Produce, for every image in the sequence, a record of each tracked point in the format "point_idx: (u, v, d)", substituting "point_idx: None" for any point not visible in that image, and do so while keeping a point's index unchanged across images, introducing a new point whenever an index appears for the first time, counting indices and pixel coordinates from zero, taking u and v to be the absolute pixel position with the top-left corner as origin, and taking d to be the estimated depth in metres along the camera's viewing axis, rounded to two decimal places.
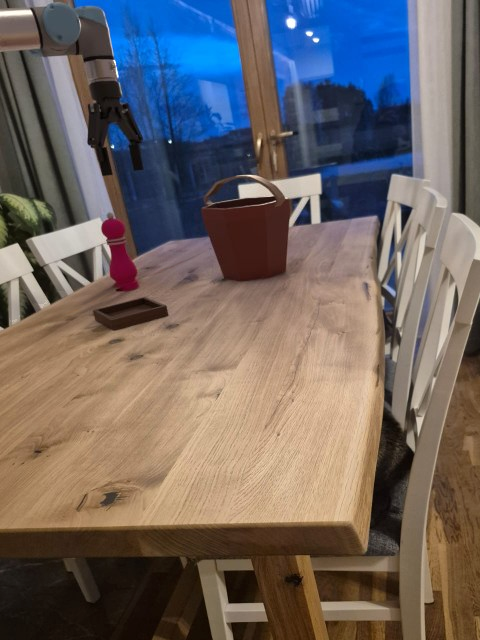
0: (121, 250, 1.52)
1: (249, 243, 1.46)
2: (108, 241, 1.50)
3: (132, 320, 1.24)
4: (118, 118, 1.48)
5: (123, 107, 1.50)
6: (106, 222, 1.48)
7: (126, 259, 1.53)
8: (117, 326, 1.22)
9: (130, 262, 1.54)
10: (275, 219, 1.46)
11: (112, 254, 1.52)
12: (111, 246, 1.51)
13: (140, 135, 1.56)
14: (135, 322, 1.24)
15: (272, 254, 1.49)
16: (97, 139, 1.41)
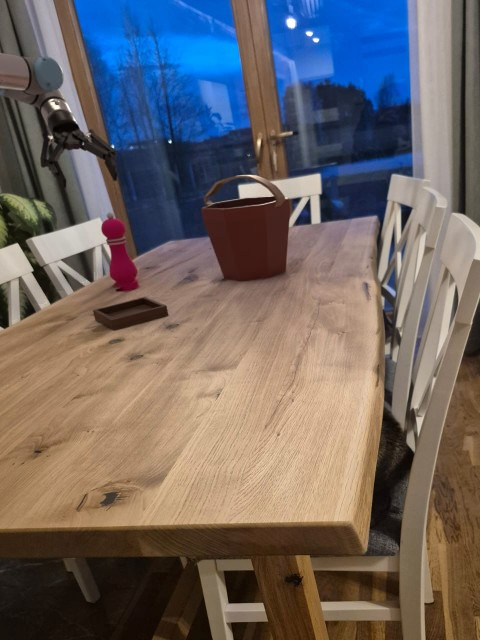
0: (121, 250, 1.52)
1: (249, 243, 1.46)
2: (108, 241, 1.50)
3: (132, 320, 1.24)
4: (77, 140, 1.56)
5: (88, 134, 1.59)
6: (106, 222, 1.48)
7: (126, 259, 1.53)
8: (117, 326, 1.22)
9: (130, 262, 1.54)
10: (275, 219, 1.46)
11: (112, 254, 1.52)
12: (111, 246, 1.51)
13: (112, 149, 1.59)
14: (135, 322, 1.24)
15: (272, 254, 1.49)
16: (44, 157, 1.50)
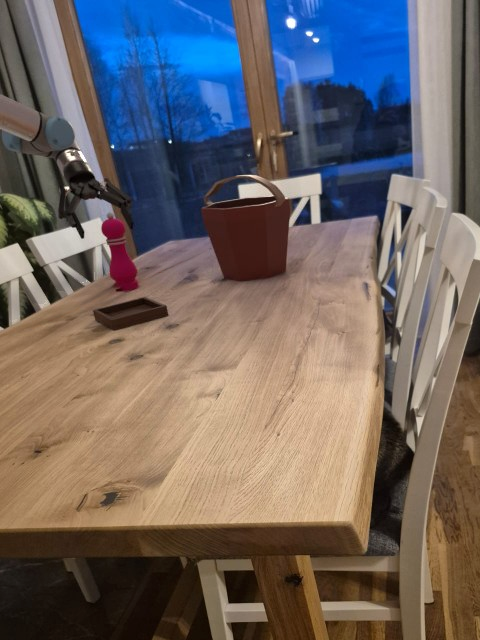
0: (121, 250, 1.52)
1: (249, 243, 1.46)
2: (108, 241, 1.50)
3: (132, 320, 1.24)
4: (93, 190, 1.58)
5: (103, 183, 1.61)
6: (106, 222, 1.48)
7: (126, 259, 1.53)
8: (117, 326, 1.22)
9: (130, 262, 1.54)
10: (275, 219, 1.46)
11: (112, 254, 1.52)
12: (111, 246, 1.51)
13: (127, 197, 1.61)
14: (135, 322, 1.24)
15: (272, 254, 1.49)
16: (61, 209, 1.51)
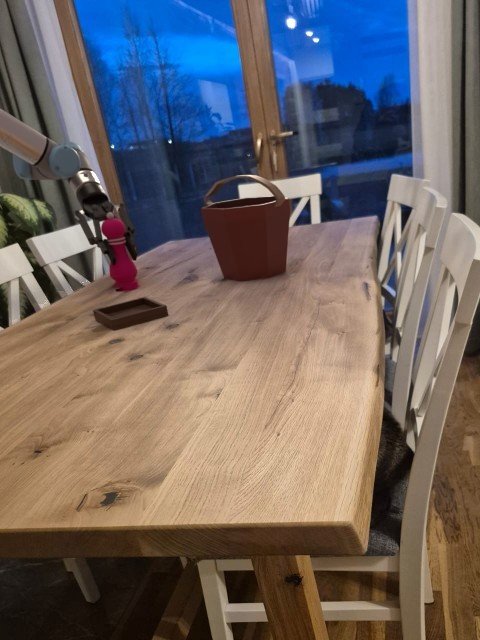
0: (120, 250, 1.52)
1: (249, 243, 1.46)
2: (108, 241, 1.50)
3: (132, 320, 1.24)
4: (106, 212, 1.54)
5: (117, 207, 1.57)
6: (106, 222, 1.48)
7: (126, 259, 1.53)
8: (117, 326, 1.22)
9: (130, 262, 1.54)
10: (275, 219, 1.46)
11: None
12: (111, 246, 1.51)
13: (132, 227, 1.55)
14: (135, 322, 1.24)
15: (272, 254, 1.49)
16: (92, 235, 1.50)
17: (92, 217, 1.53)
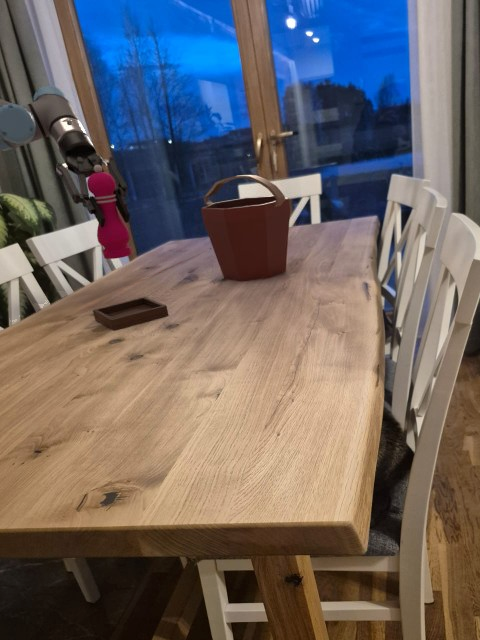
0: (110, 210, 1.30)
1: (249, 243, 1.46)
2: (95, 199, 1.28)
3: (132, 320, 1.24)
4: None
5: (106, 161, 1.35)
6: (93, 176, 1.27)
7: (116, 221, 1.31)
8: (117, 326, 1.22)
9: (121, 224, 1.32)
10: (275, 219, 1.46)
11: None
12: (99, 205, 1.29)
13: (123, 184, 1.33)
14: (135, 322, 1.24)
15: (272, 254, 1.49)
16: (76, 191, 1.28)
17: (77, 172, 1.32)
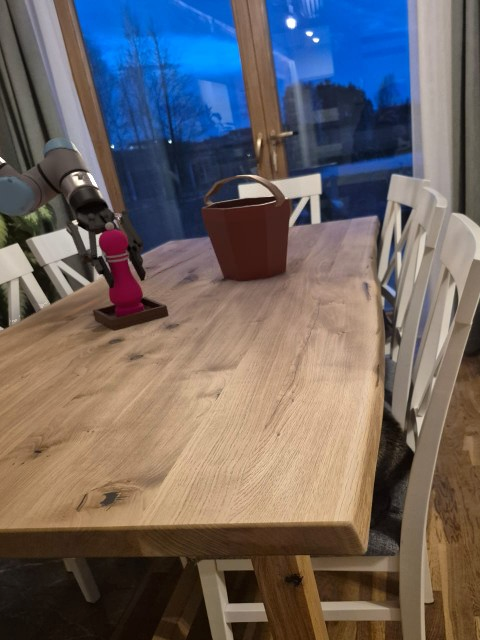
0: (122, 268, 1.24)
1: (249, 243, 1.46)
2: (107, 257, 1.22)
3: (132, 320, 1.24)
4: (105, 223, 1.27)
5: (119, 216, 1.30)
6: (105, 234, 1.20)
7: (129, 279, 1.25)
8: (117, 326, 1.22)
9: (134, 283, 1.26)
10: (275, 219, 1.46)
11: (112, 273, 1.24)
12: (111, 263, 1.23)
13: (138, 240, 1.28)
14: (135, 322, 1.24)
15: (272, 254, 1.49)
16: (84, 251, 1.22)
17: (87, 229, 1.26)
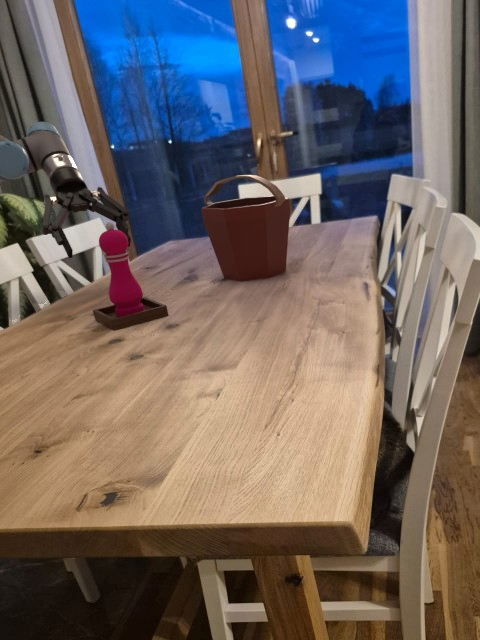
0: (123, 268, 1.24)
1: (249, 243, 1.46)
2: (107, 257, 1.22)
3: (132, 320, 1.24)
4: (84, 201, 1.36)
5: (96, 193, 1.39)
6: (105, 234, 1.21)
7: (129, 280, 1.25)
8: (117, 326, 1.22)
9: (134, 283, 1.26)
10: (275, 219, 1.46)
11: (112, 273, 1.24)
12: (111, 263, 1.23)
13: (124, 210, 1.38)
14: (135, 322, 1.24)
15: (272, 254, 1.49)
16: (46, 223, 1.29)
17: None
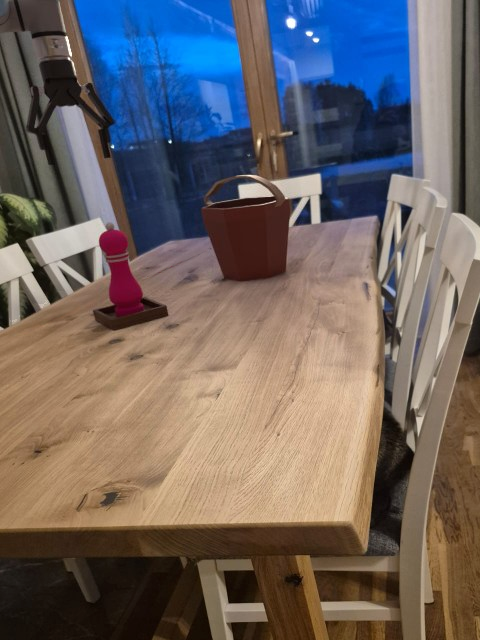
0: (123, 268, 1.24)
1: (249, 243, 1.46)
2: (107, 257, 1.22)
3: (132, 320, 1.24)
4: (72, 101, 1.34)
5: (85, 88, 1.36)
6: (105, 234, 1.21)
7: (129, 279, 1.25)
8: (117, 326, 1.22)
9: (134, 283, 1.26)
10: (275, 219, 1.46)
11: (112, 273, 1.24)
12: (111, 263, 1.23)
13: (110, 118, 1.40)
14: (135, 322, 1.24)
15: (272, 254, 1.49)
16: (32, 126, 1.31)
17: (50, 99, 1.32)
